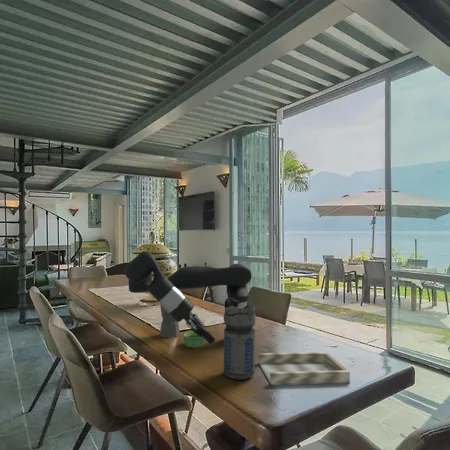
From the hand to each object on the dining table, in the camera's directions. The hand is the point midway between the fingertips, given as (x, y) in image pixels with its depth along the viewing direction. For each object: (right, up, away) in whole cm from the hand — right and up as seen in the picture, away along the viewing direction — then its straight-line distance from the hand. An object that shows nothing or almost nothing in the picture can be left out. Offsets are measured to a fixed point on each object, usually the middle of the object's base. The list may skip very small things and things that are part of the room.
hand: (212, 341), depth 113 cm
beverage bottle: (+8, -11, +1) cm, 14 cm away
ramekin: (-9, -12, +31) cm, 34 cm away
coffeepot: (-20, -12, +44) cm, 50 cm away
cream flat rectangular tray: (+30, -11, +3) cm, 32 cm away
